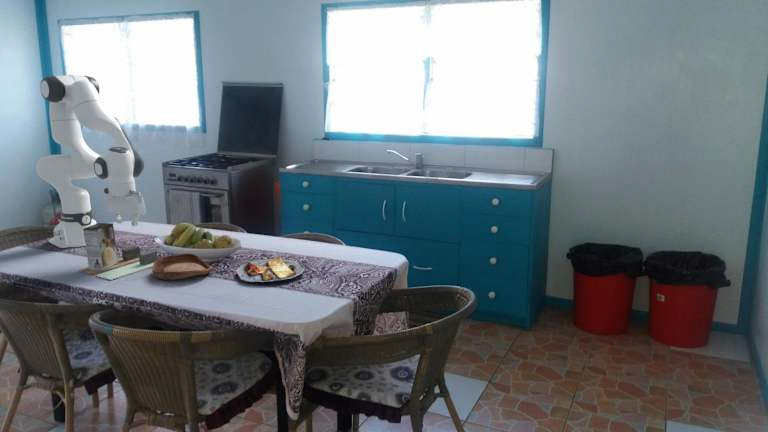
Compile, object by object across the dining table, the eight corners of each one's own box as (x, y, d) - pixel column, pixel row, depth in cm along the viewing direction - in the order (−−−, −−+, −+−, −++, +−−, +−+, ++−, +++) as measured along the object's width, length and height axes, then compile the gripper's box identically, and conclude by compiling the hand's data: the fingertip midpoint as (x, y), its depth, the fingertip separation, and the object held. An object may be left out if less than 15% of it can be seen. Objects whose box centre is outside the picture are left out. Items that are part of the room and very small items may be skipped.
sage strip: (95, 276, 222) (94, 264, 221) (148, 260, 241) (146, 249, 239) (111, 280, 217) (109, 268, 216) (163, 263, 236) (162, 252, 235)
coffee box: (103, 262, 236) (98, 222, 233) (118, 263, 235) (113, 223, 231) (88, 270, 228) (82, 228, 224) (103, 271, 226) (98, 229, 223)
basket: (223, 274, 223) (222, 262, 222) (171, 289, 209) (170, 275, 208) (193, 261, 238) (191, 249, 237) (143, 274, 225) (141, 261, 223)
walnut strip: (79, 271, 228) (77, 259, 227) (131, 255, 247) (129, 244, 245) (93, 275, 223) (92, 263, 222) (145, 259, 242) (144, 248, 241)
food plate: (231, 268, 229) (231, 259, 228) (292, 260, 238) (291, 252, 237) (244, 291, 207) (244, 281, 206) (310, 282, 216) (310, 272, 215)
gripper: (147, 190, 232) (151, 225, 235) (114, 186, 242) (118, 220, 245) (133, 193, 227) (137, 229, 230) (99, 189, 237) (104, 223, 240)
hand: (127, 224), depth 238 cm, fingers open, 8 cm apart
